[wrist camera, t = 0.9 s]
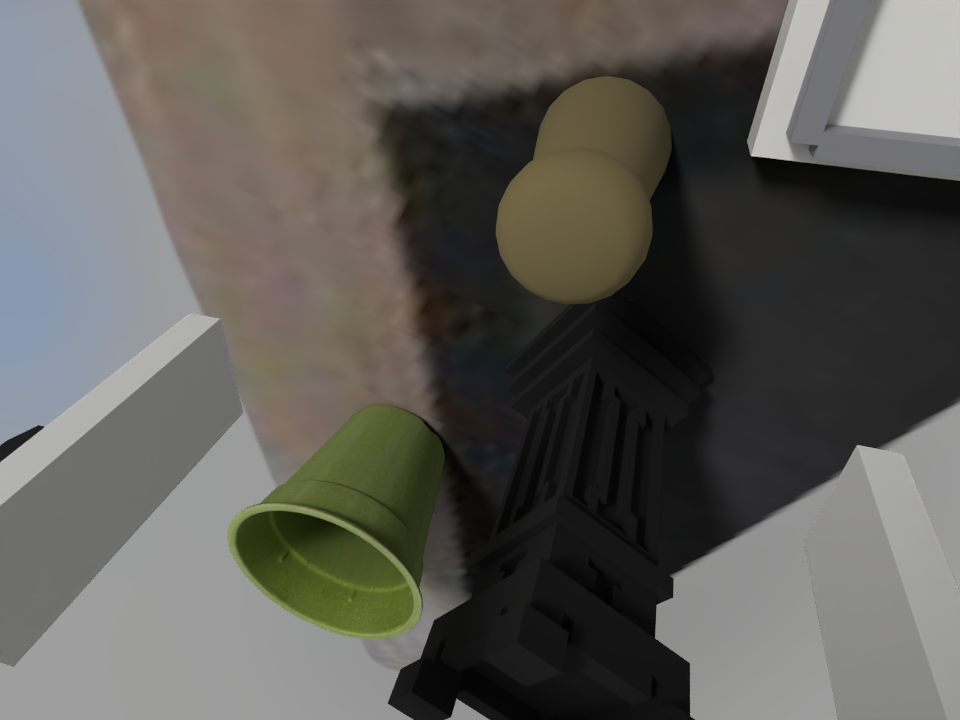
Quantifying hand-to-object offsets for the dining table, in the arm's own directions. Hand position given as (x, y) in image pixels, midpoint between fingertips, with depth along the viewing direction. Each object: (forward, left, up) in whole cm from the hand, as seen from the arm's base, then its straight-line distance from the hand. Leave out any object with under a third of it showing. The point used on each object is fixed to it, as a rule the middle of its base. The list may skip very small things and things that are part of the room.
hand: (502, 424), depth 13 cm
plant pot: (+22, -11, -19) cm, 31 cm away
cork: (0, 0, -19) cm, 19 cm away
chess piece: (+12, +2, -19) cm, 23 cm away
